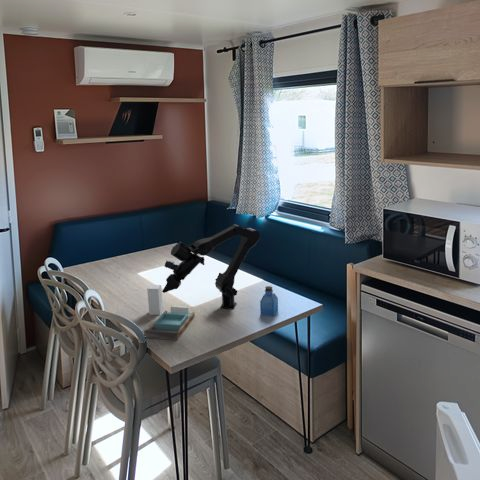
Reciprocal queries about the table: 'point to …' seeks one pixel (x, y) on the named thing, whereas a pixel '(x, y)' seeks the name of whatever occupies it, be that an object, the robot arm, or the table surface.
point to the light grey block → (155, 299)
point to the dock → (168, 334)
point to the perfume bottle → (269, 302)
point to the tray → (172, 319)
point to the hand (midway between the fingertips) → (165, 288)
